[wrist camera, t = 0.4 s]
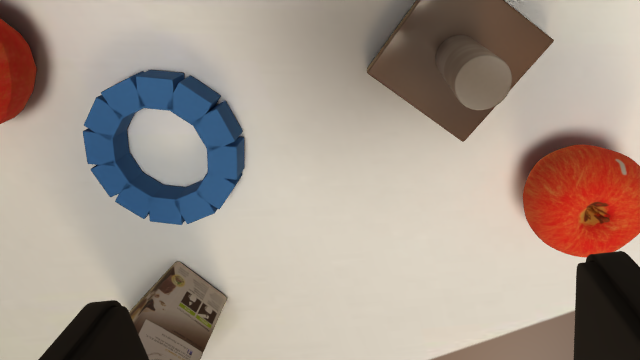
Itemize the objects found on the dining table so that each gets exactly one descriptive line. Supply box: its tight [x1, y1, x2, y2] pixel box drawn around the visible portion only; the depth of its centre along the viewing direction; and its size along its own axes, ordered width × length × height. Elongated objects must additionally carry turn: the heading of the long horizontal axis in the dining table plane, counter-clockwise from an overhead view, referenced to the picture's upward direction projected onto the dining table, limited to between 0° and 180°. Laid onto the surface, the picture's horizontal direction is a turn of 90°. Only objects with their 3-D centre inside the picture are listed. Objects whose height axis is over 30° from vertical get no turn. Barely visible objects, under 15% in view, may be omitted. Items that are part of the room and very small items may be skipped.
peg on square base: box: [367, 0, 554, 142], centre depth 29 cm, size 9×9×10 cm
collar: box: [83, 70, 244, 225], centre depth 38 cm, size 12×12×2 cm
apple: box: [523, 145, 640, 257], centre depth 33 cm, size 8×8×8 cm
